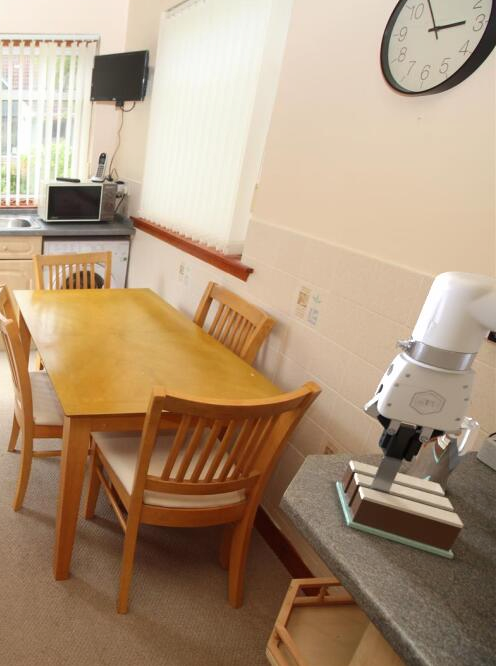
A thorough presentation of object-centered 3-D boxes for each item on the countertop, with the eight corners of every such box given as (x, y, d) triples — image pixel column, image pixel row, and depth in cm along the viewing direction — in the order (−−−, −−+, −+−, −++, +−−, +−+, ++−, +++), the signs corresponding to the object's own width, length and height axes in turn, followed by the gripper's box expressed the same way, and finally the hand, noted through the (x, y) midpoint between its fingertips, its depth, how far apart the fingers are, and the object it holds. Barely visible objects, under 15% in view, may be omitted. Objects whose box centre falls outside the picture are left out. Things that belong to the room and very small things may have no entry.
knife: (385, 492, 82) (415, 425, 76) (388, 497, 80) (418, 430, 75) (368, 487, 83) (396, 421, 77) (370, 492, 81) (399, 425, 76)
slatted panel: (427, 511, 86) (441, 482, 84) (452, 559, 76) (469, 529, 74) (335, 484, 92) (346, 457, 89) (347, 526, 82) (360, 497, 79)
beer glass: (445, 501, 89) (480, 434, 83) (398, 481, 93) (428, 416, 88) (450, 485, 93) (484, 420, 87) (405, 467, 98) (434, 404, 92)
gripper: (380, 351, 72) (341, 451, 79) (522, 377, 65) (466, 483, 72) (369, 335, 78) (334, 429, 85) (497, 356, 71) (448, 456, 78)
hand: (395, 453), depth 78 cm, fingers closed on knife
